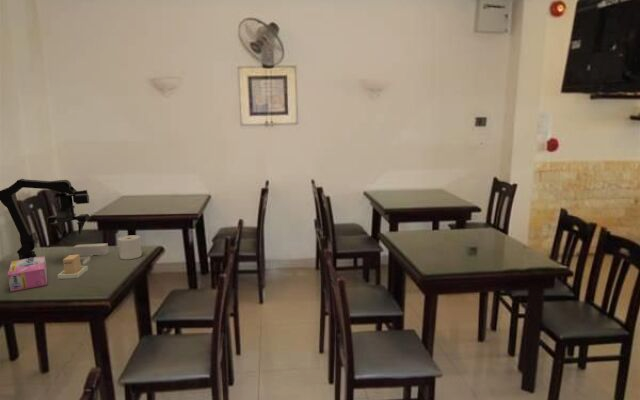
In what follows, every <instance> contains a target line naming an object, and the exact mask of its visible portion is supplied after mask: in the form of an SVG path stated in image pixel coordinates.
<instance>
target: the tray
mask: <svg viewBox="0 0 640 400" xmlns="http://www.w3.org/2000/svg"><path fill="white" fill-rule="evenodd" d="M81 269H82V270H81V271H79V272H78V273H77V274H65V271H64V270H62V271H61V272H60V273H58V274H57V280H66V279H70V280H71V279H79V278H80V277H82V275H84V274H86V272H88V271H89V266H88V265H81Z"/></svg>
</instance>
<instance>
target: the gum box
mask: <svg viewBox="0 0 640 400" xmlns="http://www.w3.org/2000/svg"><path fill="white" fill-rule="evenodd" d="M7 279H8V280H7V281H8V285H9V290H10V292H16V291H21V290H22V291H23V290H26V289H27V290H28V289H32V288H38V287H45V286H47V285H48V268H47V261H46V256H45V255H40V256H36V257H33V258H27V259H22V260H19V259H17V260H11V262H10V266H9V268H8V272H7Z"/></svg>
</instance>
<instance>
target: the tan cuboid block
mask: <svg viewBox="0 0 640 400" xmlns="http://www.w3.org/2000/svg"><path fill="white" fill-rule="evenodd" d="M80 257H81V256H80V255H74V254H69V255H68V256H66V257H65V258H63V259H62V263H63V271H65V274H77V273H78V272H79V271H81V270H82V269H81V266H82V262H81V261H82V260H80Z"/></svg>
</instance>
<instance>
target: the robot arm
mask: <svg viewBox="0 0 640 400" xmlns="http://www.w3.org/2000/svg"><path fill="white" fill-rule="evenodd" d="M23 188H25V189H39V190H40V189H41V190H50V191H51V190H52V191H53V192H56V194H55V195H54V196H53V197H54V198H58V199H59V205H60V206H59V209H58V210H59V211H58V213H56V215H51V216H48V217H47V218H46V223H47V224H50V225H51V226H53V227H54V228H55V229H56V230H57V233H58V234H59V235H60V236H63V224H62V223H67V222H69V221H77V222H76V224H77V228H78V234H79V235H81V234H82V232H83V228H84V226H85V224H86V222H88V221H89V220H90V219H91V217H90V215H89V214H88V213H85V214H83V213H81V214H79V215H76V213H75V209H74V208H75V205H74V204H76V205H84V204H86V205H87V204H90V196H89V192H88V189H84V190H77V189H75V188H74V186H72V183H71V182H70V180H68V179H59V180H58V179H57V180H50V181H49V180H36V179H26V178H19V179H18V180H16V181H15V182H14V183H13V184H11V185H10V186H9V187H5V188H3V189H1V190H0V202H1V204H2V205H3V206H4V207H6V209H7V210H8V213H9V215H10V216H11V219H12V221H13V223H14V225H15V227H16V230H17V232H18V234H19V241H20V248H18V250H17V251H16V253H17V254H18V260H22V259H27V258H33V257H37V254H36V251H35V248H36V247H37V245H38V244H39V237H38V236H37V234H36V232H31V230H30V229H29V227H28V225H27V223H26V220H25V218H24V216H23V214H22V212H21V209H20V208H19V206H18V197H17V193H18V192H19V191H21V190H22V189H23Z"/></svg>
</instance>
